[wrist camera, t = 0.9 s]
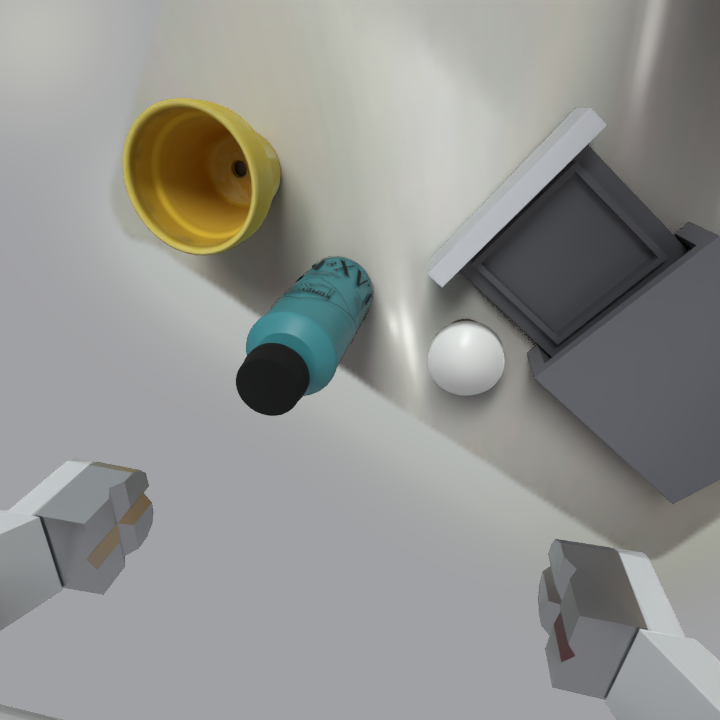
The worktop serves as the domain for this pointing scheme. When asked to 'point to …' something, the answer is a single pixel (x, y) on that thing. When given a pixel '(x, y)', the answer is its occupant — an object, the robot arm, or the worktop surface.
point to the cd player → (653, 373)
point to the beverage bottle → (304, 336)
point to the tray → (560, 239)
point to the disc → (466, 358)
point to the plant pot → (198, 175)
